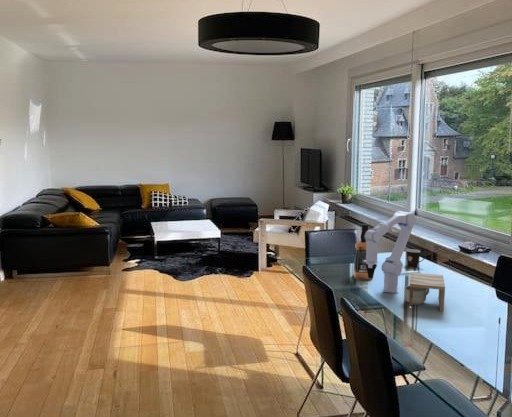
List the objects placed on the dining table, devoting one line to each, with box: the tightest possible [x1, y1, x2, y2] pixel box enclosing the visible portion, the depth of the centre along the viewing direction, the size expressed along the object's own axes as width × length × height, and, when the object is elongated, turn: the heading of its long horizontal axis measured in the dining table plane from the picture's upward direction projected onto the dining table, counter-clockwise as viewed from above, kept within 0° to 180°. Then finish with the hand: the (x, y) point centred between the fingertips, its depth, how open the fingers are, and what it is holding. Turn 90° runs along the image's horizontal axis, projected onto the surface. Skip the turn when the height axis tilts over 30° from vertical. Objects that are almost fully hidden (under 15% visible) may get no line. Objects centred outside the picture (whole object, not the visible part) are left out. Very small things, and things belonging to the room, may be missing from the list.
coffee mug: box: [406, 248, 425, 268], centre depth 334 cm, size 12×9×10 cm
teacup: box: [404, 285, 430, 306], centre depth 262 cm, size 14×11×8 cm
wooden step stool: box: [408, 272, 446, 313], centre depth 261 cm, size 22×16×12 cm
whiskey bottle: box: [352, 223, 373, 281], centre depth 306 cm, size 10×10×32 cm
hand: (370, 278), depth 272 cm, fingers closed
